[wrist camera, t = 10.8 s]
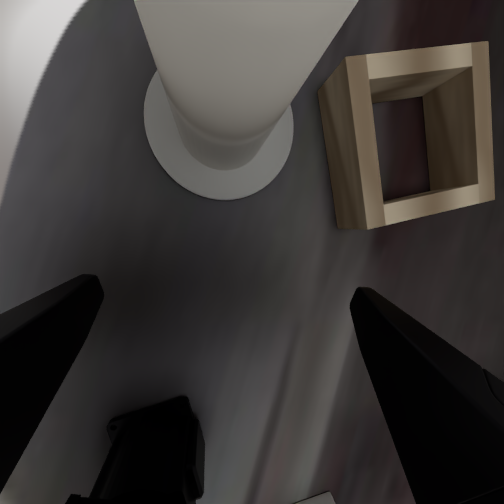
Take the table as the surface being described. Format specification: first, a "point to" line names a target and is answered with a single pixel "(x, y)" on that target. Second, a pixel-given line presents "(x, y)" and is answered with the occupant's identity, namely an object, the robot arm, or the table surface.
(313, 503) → the milk
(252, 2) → the jug
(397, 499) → the table surface
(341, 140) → the stand
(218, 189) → the mat
